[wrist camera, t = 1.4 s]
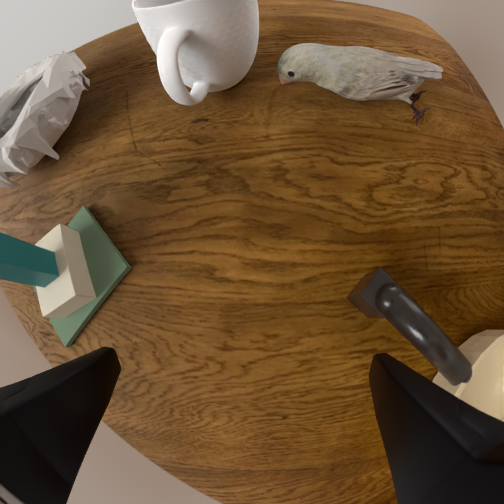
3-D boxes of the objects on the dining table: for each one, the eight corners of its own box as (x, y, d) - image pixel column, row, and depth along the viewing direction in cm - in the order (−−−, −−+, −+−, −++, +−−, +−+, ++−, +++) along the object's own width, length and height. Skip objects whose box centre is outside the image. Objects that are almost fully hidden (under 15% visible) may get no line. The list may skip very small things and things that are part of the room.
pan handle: (435, 384, 17) (465, 395, 12) (346, 297, 20) (364, 293, 15) (451, 362, 17) (482, 369, 13) (365, 274, 20) (387, 264, 15)
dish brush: (96, 298, 21) (-33, 274, 8) (64, 318, 21) (-53, 306, 8) (79, 231, 22) (-27, 177, 9) (49, 255, 22) (-52, 218, 9)
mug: (251, 137, 23) (227, 16, 11) (147, 136, 25) (84, 48, 12) (270, 49, 26) (262, -37, 14) (187, 52, 28) (159, -23, 15)
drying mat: (70, 346, 21) (65, 347, 20) (35, 282, 23) (30, 281, 22) (132, 267, 22) (127, 266, 21) (87, 207, 24) (83, 205, 23)
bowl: (-5, 194, 27) (-45, 172, 18) (48, 92, 31) (20, 62, 21) (56, 211, 24) (-6, 176, 15) (128, 76, 28) (98, 26, 18)
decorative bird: (281, 70, 25) (279, 18, 18) (415, 98, 23) (437, 55, 16) (275, 100, 24) (271, 43, 17) (423, 132, 22) (452, 87, 15)
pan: (451, 484, 13) (469, 501, 9) (379, 434, 17) (398, 457, 12) (528, 375, 15) (552, 379, 10) (478, 297, 18) (508, 293, 14)
